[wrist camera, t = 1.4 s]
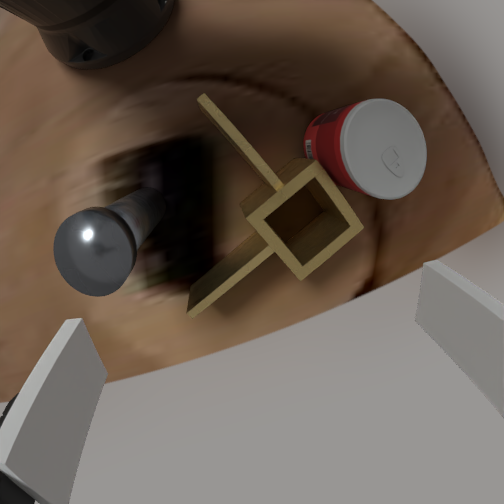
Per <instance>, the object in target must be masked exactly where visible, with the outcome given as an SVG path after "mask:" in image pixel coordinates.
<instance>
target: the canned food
mask: <svg viewBox="0 0 504 504" xmlns="http://www.w3.org/2000/svg"><path fill="white" fill-rule="evenodd" d="M303 145H304V153H305V157H306V159H315V160H317V161H318V162H319V163H320V165H321V166H322V167H323V169H324V170H325V171H326V173H327V174H328V175H329V177H330V178H331V180H332V181H333V182H334V184H336V185H339V186H342V187H345V188H348V189H351V190H354V191H357V192H360V193H363V194H366V195H369V196H373V197H376V198H380V199H390V200H393V199H398V198H401V197H404V196H406V195H407V194H409V193H410V192H411V191H413V190H414V189H415V187H416V186H417V185H418V184H419V182H420V180H421V178H422V176H423V174H424V171H425V167H426V161H427V149H426V142H425V138H424V135H423V132H422V130H421V128H420V126H419V124H418V122H417V121H416V119H415V118H414V116H413V115H412V114H411V113H410V112H409V111H408V110H407V109H406V108H404V107H403V106H402V105H400V104H398V103H396V102H394V101H392V100H387V99H369V100H365V101H361V102H358V103H354V104H351V105H348V106H345V107H341V108H338V109H335V110H332V111H329V112H326V113H323V114H321V115H319V116H317V117H316V118H315V119H314V120H313V121H312V122H311V123H310V124H309V126H308V127H307V130H306V132H305V135H304V141H303Z"/></svg>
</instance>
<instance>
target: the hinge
mask: <svg viewBox="0 0 504 504" xmlns="http://www.w3.org/2000/svg"><path fill="white" fill-rule="evenodd" d="M197 102H198V105H199V108H200V110H201V111H202V112H203V113H204V114H205V115H206V117H207V118H208V119H209V120H210V121H211V122H212V123H213V124H214V125H215V127H216V128H217V129H218V130H219V131H220V132H221V133H222V134H223V136H224V137H225V138H226V139H227V140H228V141H229V142H230V143H231V145H232V146H233V147H234V148H235V149H236V150H237V151H238V153H239V154H240V155H241V156H242V157H243V158H244V160H245V161H246V162H247V163H248V164H249V165H250V167H251V168H252V169H253V170H254V171H255V172H256V174H257V175H258V176H259V177H260V178H261V180H262V181H263V182H264V184H263V185H261V186H260V187H259V188H258V189H257V190H255V191H254V192H253V193H252V194H251V195H249V196H248V197H247V198H246V199H245V200H243V201H242V202H241V203H240V207H241V209H242V211H243V213H244V215H245V218H246V219H247V220H248V221H249V223H250V224H251V225H252V226H253V227H254V228H255V229H256V232H254V233H253V234H252V235H251V236H250V237H248V238H247V239H246V240H245V241H244V242H242V243H241V244H240V245H239V246H238V247H237V248H235V249H234V250H233V251H232V252H231V253H229V254H228V255H227V256H226V257H225V258H224V259H222V260H221V261H220V262H219V263H218V264H216V265H215V266H214V267H213V268H212V269H211V270H209V271H208V272H207V273H206V274H205V275H204V276H202V277H201V278H200V279H199V280H198V281H197V282H195V283H194V284H193V285H192V286H191V288H190V294H189V301H188V307H187V314H188V315H189V316H190V317H191V318H192V319H193V318H194V317H196V316H197V315H198V314H199V313H200V312H202V311H203V310H204V309H205V308H207V307H208V306H209V305H210V304H212V303H213V302H214V301H215V300H216V299H218V298H219V297H220V296H221V295H223V294H224V293H225V292H226V291H228V290H229V289H230V288H231V287H232V286H234V285H235V284H236V283H237V282H239V281H240V280H241V279H242V278H243V277H245V276H246V275H247V274H248V273H250V272H251V271H252V270H253V269H254V268H256V267H257V266H258V265H259V264H260V263H262V262H263V261H264V260H265V259H267V258H268V257H269V256H270V255H271V254H273V253H274V252H276V254H277V255H278V256H279V257H280V258H281V259H282V260H283V262H284V263H285V264H286V265H287V266H288V267H289V269H290V270H291V271H292V272H293V273H294V274H295V276H296V277H297V278H298V279H299V280H300V281H302V280H303V279H304V278H305V277H307V276H308V275H309V274H310V273H311V272H313V271H314V270H315V269H316V268H318V267H319V266H320V265H321V264H322V263H324V262H325V261H326V260H327V259H328V258H329V257H331V256H332V255H333V254H334V253H335V252H337V251H338V250H339V249H340V248H341V247H342V246H344V245H345V244H346V243H347V242H348V241H349V240H351V239H352V238H353V237H354V236H355V235H356V234H358V233H359V232H360V231H361V230H362V229H363V228H364V226H363V225H362V223H361V222H360V220H359V219H358V217H357V216H356V214H355V213H354V211H353V210H352V208H351V207H350V205H349V204H348V202H347V201H346V199H345V198H344V197H343V195H342V194H341V192H340V191H339V189H338V188H337V187H336V185H335V184H334V182H333V181H332V180H331V178H330V177H329V175H328V174H327V173H326V171H325V170H324V169H323V167H322V166H321V165H320V163H319V162H318V161H317V160H315V159H304V158H294V159H293V160H292V161H291V162H289V163H288V164H287V165H286V166H284V167H283V168H282V169H281V170H279V171H278V172H277V173H276V174H274V172H273V171H272V170H271V169H270V167H269V166H268V165H267V164H266V163H265V161H264V160H263V159H262V158H261V157H260V156H259V154H258V153H257V152H256V151H255V150H254V148H253V147H252V146H251V145H250V144H249V143H248V141H247V140H246V139H245V138H244V137H243V136H242V134H241V133H240V132H239V131H238V130H237V129H236V128H235V126H234V125H233V124H232V123H231V122H230V121H229V120H228V119H227V117H226V116H225V115H224V114H223V113H222V112H221V111H220V110H219V109H218V107H217V106H216V105H215V104H214V103H213V102H212V101H211V100H210V99H209V98H208V97H207V95H206V94H205V93H204V94H202V95H201V96H200V97H199V98H197ZM304 185H305V186H306V188H307V189H308V190H309V192H310V193H311V194H312V196H313V197H314V198H315V200H316V201H317V202H318V204H319V205H320V206H321V208H322V209H323V210H324V211H323V212H322V213H321V214H320V215H318V216H317V217H316V218H315V219H314V220H312V221H311V222H310V223H309V224H308V225H307V226H305V227H304V228H303V229H302V230H301V231H299V232H298V233H297V234H296V235H295V236H293V237H292V238H291V239H290V240H289V241H287V242H286V243H285V242H284V241H283V240H282V238H281V237H280V236H279V235H278V234H277V233H276V231H275V230H274V229H273V228H272V227H271V225H270V224H269V223H268V222H267V221H266V220H265V218H266V217H267V216H268V215H269V214H270V213H272V212H273V211H274V210H275V209H276V208H278V207H279V206H280V205H281V204H282V203H284V202H285V201H286V200H287V199H288V198H290V197H291V196H292V195H293V194H295V193H296V192H297V191H298V190H299V189H301V188H302V187H303V186H304Z"/></svg>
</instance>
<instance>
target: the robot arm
mask: <svg viewBox="0 0 504 504" xmlns="http://www.w3.org/2000/svg"><path fill="white" fill-rule="evenodd" d="M173 4H174V0H0V7H1V8H3V9H5V10H7V11H9V12H11V13H13V14H14V15H16V16H18V17H20V18H22V19H24V20H26V21H27V22H29V23H31V24H33V25H35V26H36V27H37V28H38V30H39V33H40V35H41V37H42V39H43V41H44V43H45V45H46V47H47V49H48V51H49V52H50V53H51V54H52V55H53V56H54V57H55V58H56V59H58V60H59V61H61V62H63V63H65V64H67V65H69V66H71V67H74V68H78V69H98V68H103V67H107V66H110V65H113V64H116V63H118V62H121V61H123V60H125V59H127V58H129V57H130V56H132V55H134V54H135V53H137V52H138V51H140V50H141V49H142V48H144V47H145V46H146V45H147V44H148V43H150V42H151V41H152V40H153V39H154V38H155V37H156V36H157V34H158V33H159V32H160V31H161V30H162V28H163V27H164V25H165V24H166V22H167V20H168V18H169V16H170V14H171V12H172V8H173ZM415 321H416V322H417V323H418V324H419V325H420V326H421V327H422V328H423V330H425V331H426V333H428V334H429V336H430V337H431V338H432V339H433V340H434V341H435V342H436V343H437V344H438V345H439V346H440V347H441V348H442V349H443V350H444V351H445V352H446V353H447V354H448V355H449V357H450V358H451V359H452V360H453V361H454V362H455V363H456V364H457V365H458V366H459V367H460V368H461V370H462V371H463V372H464V373H465V374H466V375H467V376H468V377H469V378H470V380H471V381H472V382H473V383H474V384H475V385H476V386H477V387H478V389H479V390H480V391H481V392H482V393H483V394H484V395H485V397H486V398H487V399H488V400H489V401H490V402H491V404H492V405H493V406H494V407H495V408H496V410H497V411H498V412H499V413H500V414H501V416H502V417H503V418H504V304H502V303H501V302H499V301H498V300H497V299H495V298H494V297H493V296H491V295H490V294H488V293H487V292H485V291H484V290H483V289H481V288H480V287H478V286H477V285H475V284H474V283H472V282H471V281H469V280H468V279H466V278H465V277H463V276H462V275H460V274H459V273H457V272H456V271H454V270H453V269H451V268H449V267H448V266H446V265H445V264H443V263H442V262H440V261H439V260H433V261H429V262H425V263H423V272H422V280H421V288H420V294H419V301H418V307H417V313H416V318H415ZM107 375H108V373H107V371H106V369H105V367H104V365H103V363H102V361H101V359H100V357H99V355H98V353H97V351H96V349H95V346H94V344H93V342H92V340H91V338H90V335H89V333H88V331H87V328H86V326H85V324H84V321H83V319H82V318H78V319H67V320H66V321H65V322H64V324H63V325H62V326H61V328H60V329H59V331H58V332H57V334H56V335H55V337H54V338H53V340H52V341H51V343H50V344H49V346H48V347H47V349H46V350H45V352H44V353H43V355H42V356H41V358H40V359H39V361H38V363H37V364H36V366H35V367H34V369H33V371H32V372H31V374H30V376H29V377H28V379H27V381H26V382H25V384H24V386H23V387H22V389H21V391H20V393H18V394H17V395H16V396H15V397H14V398H13V399H12V400H11V401H10V402H9V403H8V405H7V406H6V408H5V410H4V412H3V416H1V417H0V504H34V502H35V500H36V501H37V502H38V503H40V504H69V500H70V496H71V492H72V488H73V483H74V480H75V476H76V472H77V468H78V464H79V461H80V457H81V454H82V450H83V447H84V443H85V440H86V437H87V434H88V430H89V427H90V424H91V421H92V418H93V415H94V412H95V409H96V406H97V403H98V400H99V397H100V394H101V392H102V388H103V386H104V383H105V380H106V378H107Z"/></svg>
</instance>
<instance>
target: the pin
mask: <svg viewBox="0 0 504 504" xmlns="http://www.w3.org/2000/svg"><path fill="white" fill-rule="evenodd" d="M165 210H166V203H165V199H164V197H163V196H162V194H161V193H160V192H159V191H157V190H156V189H153V188H149V187H145V188H141V189H139V190H137V191H135V192H133V193H131V194H129V195H127V196H125V197H123V198H121V199H119V200H117V201H115V202H114V203H112V204H110V205H108V206H106V207H104V208H103V207H90V208H86V209H84V210H82V211H80V212H78V213H76V214H74V215H72V216H70V217H68V218H67V219H66V220H65V221H64V222H63V223H62V224H61V226H60V227H59V229H58V231H57V233H56V236H55V240H54V257H55V262H56V265H57V267H58V270H59V271H60V273H61V275H62V276H63V278H64V279H65V280H66V282H67V283H68V284H69V285H70V286H72V287H73V288H74V289H76V290H77V291H79V292H81V293H83V294H86V295H89V296H105V295H109V294H111V293H113V292H115V291H116V290H118V289H119V288H120V287H121V286H122V285H123V283H124V282H125V280H126V279H127V277H128V276H129V274H130V273H131V271H132V269H133V267H134V265H135V262H136V257H137V250H138V248H139V247H140V246H141V244H142V243H143V242H144V240H145V239H146V238H147V237H148V235H149V234H150V233H151V231H152V230H153V229H154V228H155V226H156V225H157V224H158V223H159V221H160V220H161V219H162V217H163V216H164V214H165Z"/></svg>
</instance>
